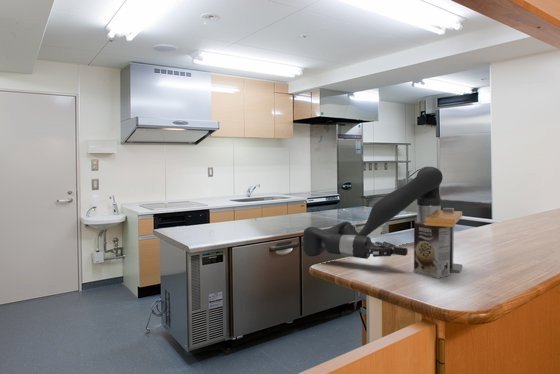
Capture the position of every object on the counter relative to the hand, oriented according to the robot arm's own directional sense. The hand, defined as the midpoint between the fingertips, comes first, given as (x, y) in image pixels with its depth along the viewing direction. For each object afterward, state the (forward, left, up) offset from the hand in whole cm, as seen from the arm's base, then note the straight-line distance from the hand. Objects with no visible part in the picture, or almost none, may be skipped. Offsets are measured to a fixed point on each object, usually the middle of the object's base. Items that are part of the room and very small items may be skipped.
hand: (406, 252), depth 121 cm
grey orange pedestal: (+4, +11, -7) cm, 13 cm away
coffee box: (+3, +7, -7) cm, 10 cm away
